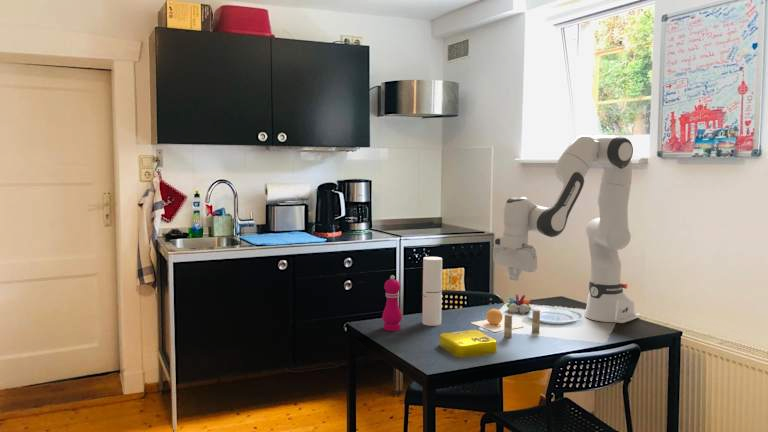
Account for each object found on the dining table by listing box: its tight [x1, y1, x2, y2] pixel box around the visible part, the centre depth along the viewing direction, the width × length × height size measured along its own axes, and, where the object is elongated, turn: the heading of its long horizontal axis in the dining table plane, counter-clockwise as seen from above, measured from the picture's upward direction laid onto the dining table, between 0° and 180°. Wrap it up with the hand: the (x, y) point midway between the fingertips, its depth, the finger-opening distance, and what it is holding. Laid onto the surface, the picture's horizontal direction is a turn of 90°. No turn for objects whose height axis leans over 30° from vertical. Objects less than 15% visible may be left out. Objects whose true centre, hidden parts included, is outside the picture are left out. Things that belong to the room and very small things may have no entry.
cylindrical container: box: [421, 256, 443, 327], centre depth 252 cm, size 7×7×25 cm
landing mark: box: [470, 318, 524, 333], centre depth 252 cm, size 14×14×1 cm
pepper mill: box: [381, 274, 403, 332], centre depth 245 cm, size 7×7×20 cm
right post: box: [531, 309, 541, 334], centre depth 242 cm, size 3×3×8 cm
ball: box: [485, 308, 503, 325], centre depth 252 cm, size 6×6×6 cm
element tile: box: [439, 329, 498, 358], centre depth 223 cm, size 15×15×5 cm
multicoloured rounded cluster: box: [506, 293, 532, 314], centre depth 272 cm, size 8×10×7 cm
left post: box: [503, 313, 513, 339], centre depth 236 cm, size 3×3×8 cm
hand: (514, 279), depth 242 cm, fingers closed
